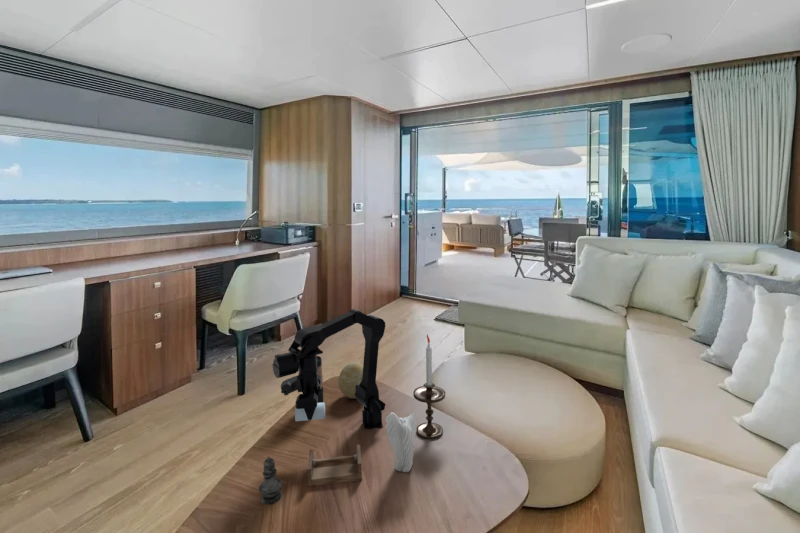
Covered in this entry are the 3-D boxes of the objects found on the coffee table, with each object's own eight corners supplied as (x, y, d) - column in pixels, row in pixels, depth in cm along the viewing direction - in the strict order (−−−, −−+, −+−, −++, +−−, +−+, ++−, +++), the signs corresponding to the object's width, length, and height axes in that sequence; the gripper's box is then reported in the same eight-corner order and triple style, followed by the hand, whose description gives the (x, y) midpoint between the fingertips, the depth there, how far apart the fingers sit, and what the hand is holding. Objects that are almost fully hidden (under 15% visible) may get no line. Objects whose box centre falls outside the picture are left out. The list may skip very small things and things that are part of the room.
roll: (325, 413, 127) (324, 399, 126) (324, 421, 122) (323, 407, 121) (297, 416, 126) (296, 401, 125) (295, 424, 121) (294, 409, 120)
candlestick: (408, 428, 136) (406, 332, 131) (433, 420, 141) (432, 327, 136) (425, 444, 126) (423, 341, 121) (451, 434, 131) (451, 335, 127)
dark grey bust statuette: (261, 508, 100) (258, 466, 98) (258, 494, 105) (255, 453, 104) (284, 500, 103) (282, 458, 101) (280, 486, 108) (277, 447, 106)
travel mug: (321, 412, 148) (319, 362, 146) (302, 412, 148) (299, 363, 146) (325, 402, 156) (323, 355, 153) (307, 402, 156) (304, 355, 153)
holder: (360, 460, 119) (359, 444, 118) (361, 480, 110) (361, 463, 109) (310, 465, 117) (309, 450, 116) (308, 486, 108) (307, 469, 107)
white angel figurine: (420, 461, 118) (419, 406, 115) (412, 479, 110) (411, 420, 107) (394, 456, 120) (393, 402, 118) (385, 473, 113) (383, 415, 110)
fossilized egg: (372, 390, 166) (370, 357, 164) (366, 404, 153) (365, 368, 151) (343, 389, 167) (341, 356, 165) (335, 404, 155) (334, 368, 153)
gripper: (286, 360, 130) (289, 403, 132) (276, 383, 112) (279, 433, 114) (320, 357, 131) (322, 400, 133) (315, 380, 113) (318, 430, 115)
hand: (310, 415), depth 124 cm, fingers closed on roll, 5 cm apart
